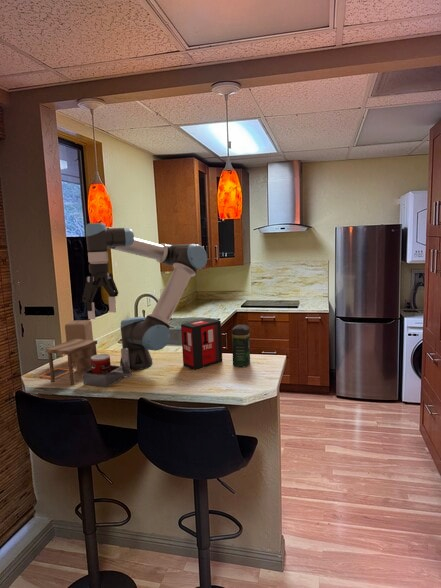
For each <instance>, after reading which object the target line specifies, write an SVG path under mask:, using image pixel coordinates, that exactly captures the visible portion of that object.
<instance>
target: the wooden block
mask: <svg viewBox="0 0 441 588" xmlns="http://www.w3.org/2000/svg"><path fill="white" fill-rule="evenodd" d="M64 330H65V342H67V341H70V340H73V339H83V340H94V336H93V334H94V333H93V324H92V320H91V319H83V320H81V319H79V320H75V319H74V320H72V321H70V322H68V323H66V324H65V325H64ZM71 355H72V364H76V362H75V353H73V354H71Z"/></svg>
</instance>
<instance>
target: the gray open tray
mask: <svg viewBox="0 0 441 588" xmlns="http://www.w3.org/2000/svg"><path fill="white" fill-rule="evenodd" d="M120 355H121V356H120V359H121V358H122V366H120V365H117V364H116V365H115V364H111V372H109V373H107V374H105V375H104V374H96V373H92V369H89V370H87V371H85V372H81V375H82V383H83V385H88V386H94V387H102V388H108V387H110V386H111V385H114V384H115V383H117V382H118V381H121V380H122V379H123V378H126V377H127V378H130V377H132V376H133V372H132V371H131V370H130V363H129V351H128V348H121V349H120Z"/></svg>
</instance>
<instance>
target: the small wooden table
mask: <svg viewBox="0 0 441 588" xmlns="http://www.w3.org/2000/svg"><path fill="white" fill-rule="evenodd" d="M97 345H98V340H94V339H93V340H83V339H73V340H70V341H67V342H66V341H65V342H61V343H59V344H56V345H53V346H50V347H47V348H46V349H45V352H46V353H47V355H48V356H47V357H48V363H49V371H50V375H51V379H50V383H52V384H53V383H55V382H56V380H55V376H54V369H55V368H54V357H53V354H55V355H56V354H58V355H67V363H68V369H69V374H68V375H69V382H70V383H69V385H70V386H74V385H75V376H74V372H73V370H74V368H73V363H72V355H71V354H73V353H75V362H76V363H75V369H76V372H81V373H83V372H85V371H87V370H89V369H91V357H92V356H94V355H98V352H97Z"/></svg>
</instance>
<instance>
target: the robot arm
mask: <svg viewBox="0 0 441 588" xmlns="http://www.w3.org/2000/svg"><path fill="white" fill-rule="evenodd" d="M85 237H86V247H87V257H88V258H87V259H88V261H87V262H88V263H89V264H88V271H89V273H90V274H91V276H85V285H84V289H83V294H82V299H81V302H82V303H85V304H86V311H87V317H88V319H87V320H96V312H95V311H96V310H95V302H93V301H94V299H95V297H96V296H95V295H97V291H98V289H100V287H103V288H104V290H105V291H106V292H107V294H108V309H109V313H117V307H116V306H117V305H116V303H117V302H116V301H117V300H116V297H118V296H119V290H118V287H117V284H116V283H115V280H114V276H113V273H109V272H110V267H109V266H110V265H109V263H108V262H109V254H108V249H111V250H115V251H118V252H124V253H127V254H131V255H136V256H140V257H144V258H147V259H152V260H155V261H156V262H157V263H159V264H160V263H161V264H163V265H167V266H170V267H172V268H173V270H172V273H171V275H170V277H169V279H168V280H167V282H166V285H165V286H164V289H163V291H162V293H161V294H160V296H159V299H158V301H157V303H156V305H155V307H154V308H153V310H152V312H151V313H150V314H147V315H146V316H135V317H129V318H124V319H122V320H121V321H120V333H121V346H122V348H128V351H129V363H130V371H140V370H144V369H147V368H150V367H151V366H153V358H152V355H151V353H150V351H153V352H156V351H160V350H162V349H164V348H165V347H166V346H167V345H168V344H169V342H170V339H171V335H170V334H171V332H170V328H171V323H170V321H171V318H172V316H173V315H174V311H175V310H176V308H177V306H178V304H179V301H180V300H181V298H182V296H183V294H184V292H185V290H186V288H187V286H188V285H189V284H188V283H189V281H190V279H191V278H192V277H195V276H196V275H197V272H198V270H201V269H203V268H204V267H206V265H207V262H208V255H207V252H206V250H205V248H204V247H203V246H202V245H201V244H195V243H190V244H189V243H188V244H183V243H181V244H167V243H164V242H163V243H162V242H161V243H156V242H152V241H148V240H144V239H141V238H138V237H135V235H134V232H133V229H131V228H128V227H114V228H113V227H112V228H111V227H109V228H108V227H107V226H106V224H105V223H103V222H102V223H101V222H97V223H96V222H93V223H92V222H91V223H87V224H86V225H85ZM122 348H121V349H122ZM119 366H122V358H121V357H120V362H119Z"/></svg>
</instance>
